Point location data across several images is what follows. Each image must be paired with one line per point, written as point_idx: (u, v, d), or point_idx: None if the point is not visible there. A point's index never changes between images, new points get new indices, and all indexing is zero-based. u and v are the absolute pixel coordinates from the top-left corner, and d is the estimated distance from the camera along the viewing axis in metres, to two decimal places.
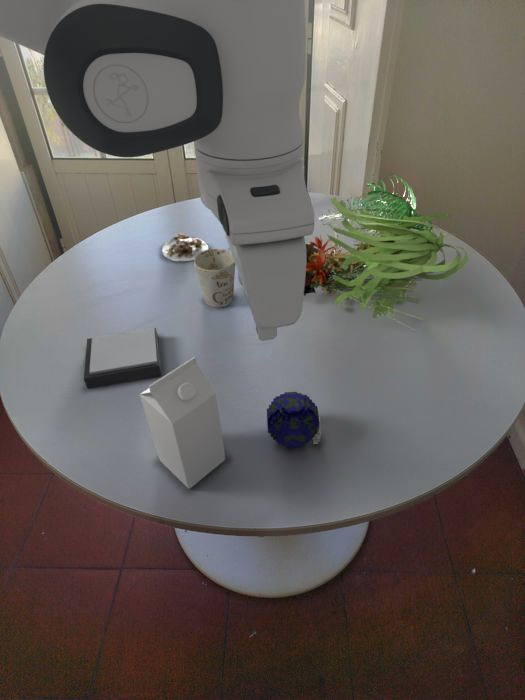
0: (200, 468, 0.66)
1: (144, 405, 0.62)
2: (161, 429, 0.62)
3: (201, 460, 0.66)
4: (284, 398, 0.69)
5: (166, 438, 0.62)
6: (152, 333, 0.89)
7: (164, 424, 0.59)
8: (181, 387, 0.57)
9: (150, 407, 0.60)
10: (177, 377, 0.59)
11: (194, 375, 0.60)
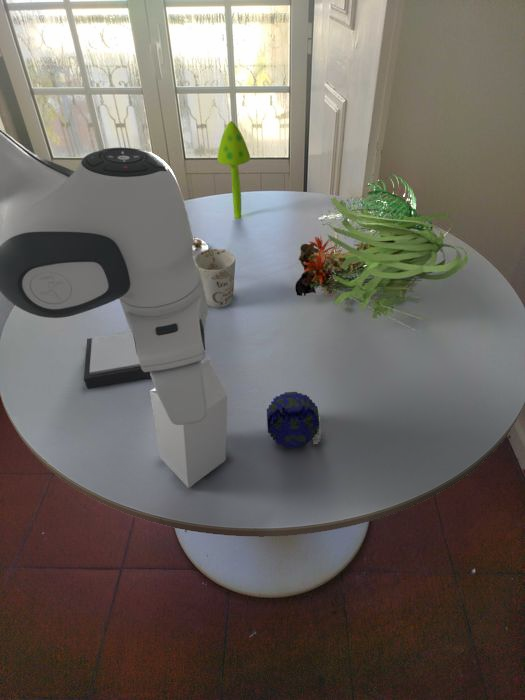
0: (201, 468, 0.66)
1: (153, 402, 0.61)
2: (168, 428, 0.61)
3: (204, 460, 0.66)
4: (284, 398, 0.69)
5: (172, 436, 0.62)
6: None
7: None
8: None
9: (160, 405, 0.59)
10: None
11: (207, 376, 0.59)
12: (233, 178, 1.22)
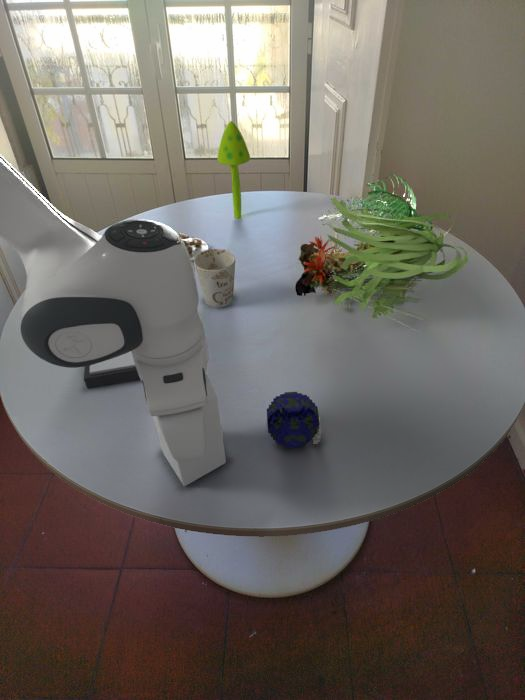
0: (197, 467, 0.66)
1: None
2: None
3: (198, 460, 0.66)
4: (284, 398, 0.69)
5: None
6: None
7: None
8: None
9: None
10: None
11: None
12: (233, 178, 1.22)
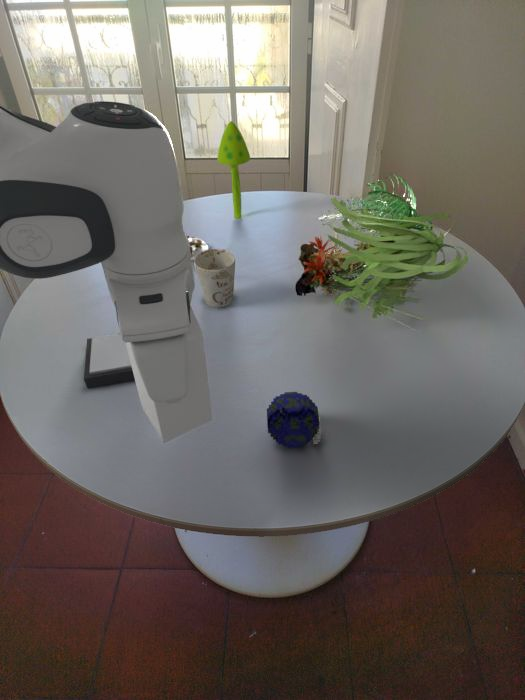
0: (178, 421, 0.59)
1: None
2: None
3: (180, 412, 0.58)
4: (284, 398, 0.69)
5: None
6: None
7: None
8: None
9: None
10: None
11: None
12: (233, 178, 1.22)
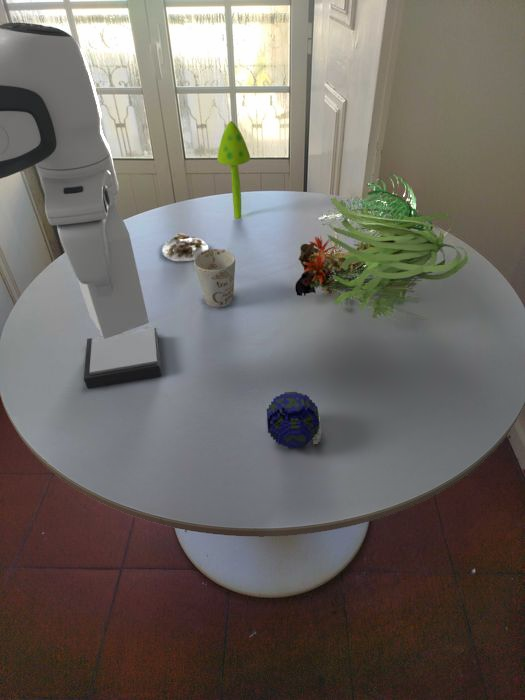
0: (116, 319, 0.68)
1: None
2: None
3: (117, 310, 0.67)
4: (284, 398, 0.69)
5: None
6: (152, 333, 0.89)
7: None
8: None
9: None
10: None
11: (110, 214, 0.62)
12: (233, 178, 1.22)
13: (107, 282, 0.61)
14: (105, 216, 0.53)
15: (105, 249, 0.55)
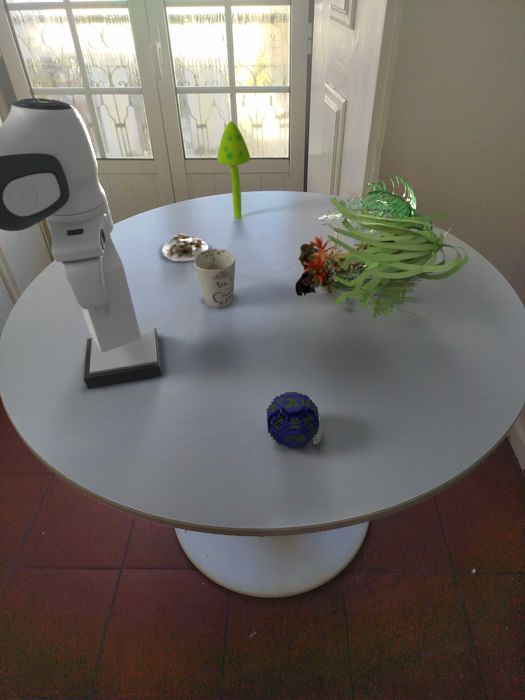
0: (112, 336, 0.78)
1: None
2: None
3: (113, 328, 0.78)
4: (284, 398, 0.69)
5: None
6: (152, 333, 0.89)
7: None
8: None
9: None
10: None
11: (106, 247, 0.72)
12: (233, 178, 1.22)
13: (104, 306, 0.72)
14: (102, 253, 0.64)
15: (102, 280, 0.65)
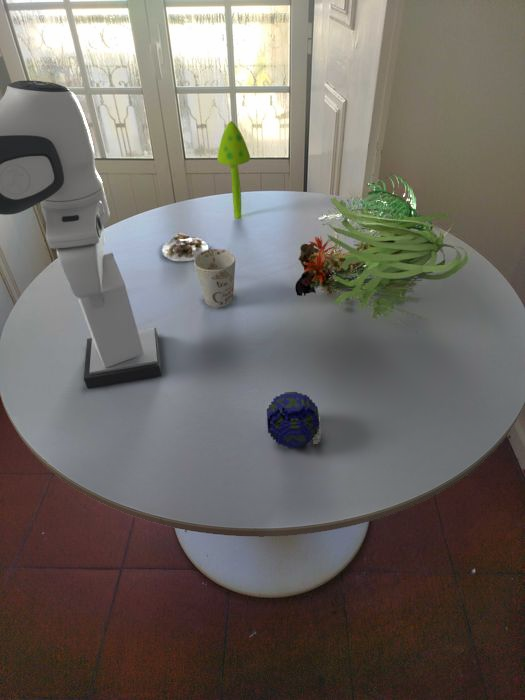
0: (115, 352, 0.81)
1: None
2: (82, 309, 0.77)
3: (115, 345, 0.80)
4: (284, 398, 0.69)
5: (85, 317, 0.77)
6: (152, 333, 0.89)
7: (80, 302, 0.74)
8: None
9: None
10: None
11: (109, 267, 0.74)
12: (233, 178, 1.22)
13: (99, 296, 0.70)
14: (98, 241, 0.62)
15: (97, 268, 0.64)
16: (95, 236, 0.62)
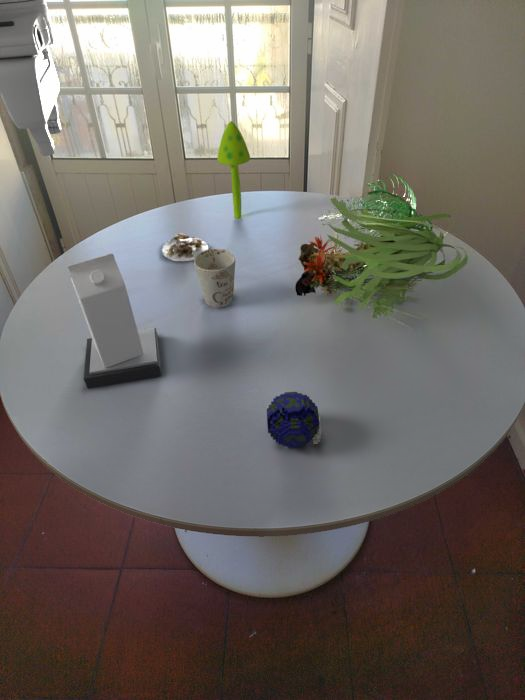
0: (115, 352, 0.81)
1: (74, 287, 0.77)
2: (82, 309, 0.77)
3: (115, 345, 0.80)
4: (284, 398, 0.69)
5: (85, 317, 0.77)
6: (152, 333, 0.89)
7: (80, 302, 0.74)
8: (93, 272, 0.72)
9: (74, 288, 0.75)
10: (94, 266, 0.73)
11: (109, 268, 0.74)
12: (233, 178, 1.22)
13: (47, 137, 0.62)
14: (36, 51, 0.54)
15: (38, 88, 0.56)
16: (32, 43, 0.53)
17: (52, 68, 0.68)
